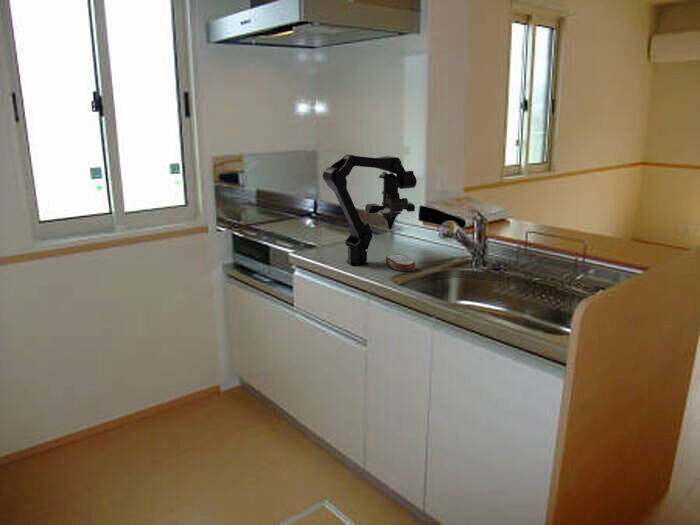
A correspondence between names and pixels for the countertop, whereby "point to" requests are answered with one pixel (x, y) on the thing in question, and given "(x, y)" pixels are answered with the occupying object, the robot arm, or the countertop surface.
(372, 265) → the countertop surface
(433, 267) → the countertop surface
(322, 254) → the countertop surface
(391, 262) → the tin
